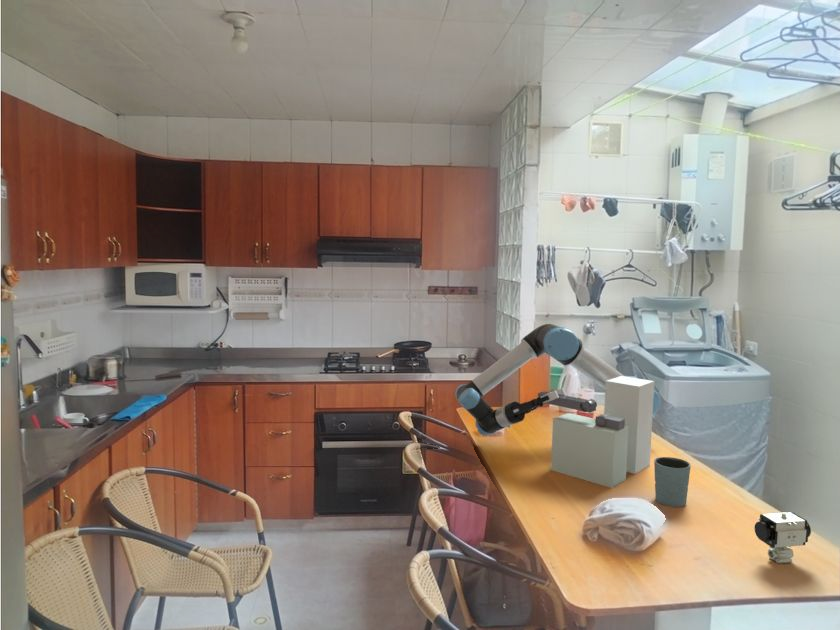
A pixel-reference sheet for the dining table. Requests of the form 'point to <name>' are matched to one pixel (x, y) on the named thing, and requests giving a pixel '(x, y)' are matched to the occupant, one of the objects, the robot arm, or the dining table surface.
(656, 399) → the robot arm
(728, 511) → the dining table surface
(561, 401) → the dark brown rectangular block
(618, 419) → the grey-green rectangular block
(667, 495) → the blue-grey cup
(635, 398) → the taupe rectangular block
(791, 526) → the pneumatic valve
